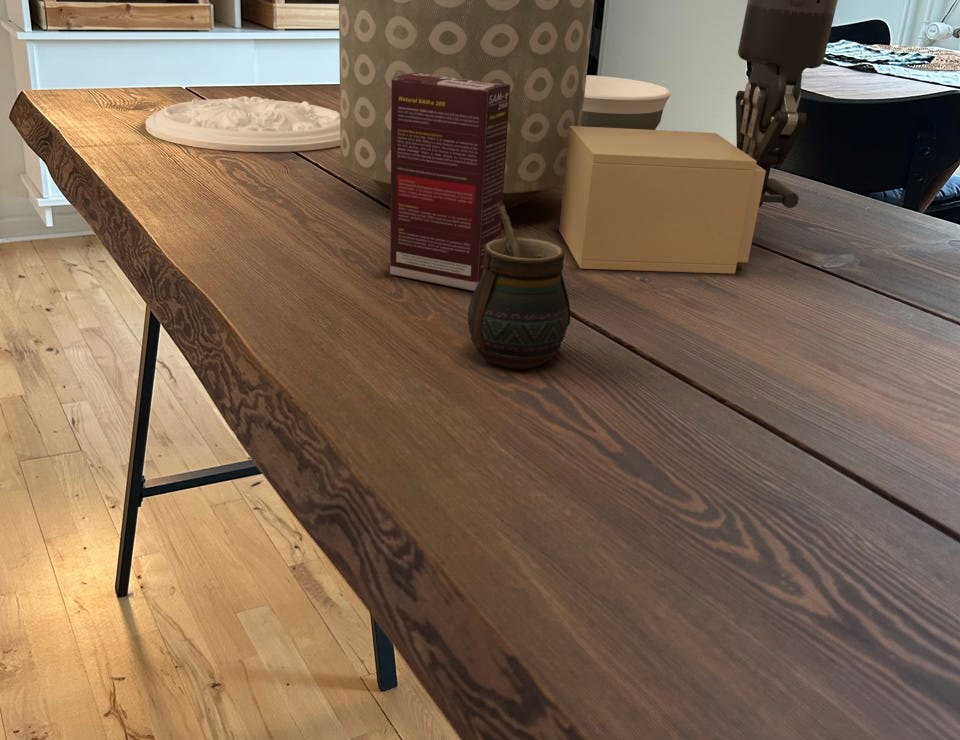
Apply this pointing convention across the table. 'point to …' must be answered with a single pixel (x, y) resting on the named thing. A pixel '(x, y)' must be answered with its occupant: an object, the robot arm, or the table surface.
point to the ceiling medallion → (247, 125)
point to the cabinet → (654, 200)
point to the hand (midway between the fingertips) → (748, 205)
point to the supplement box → (446, 176)
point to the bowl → (622, 103)
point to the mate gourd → (519, 301)
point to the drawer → (777, 195)
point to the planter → (467, 76)
